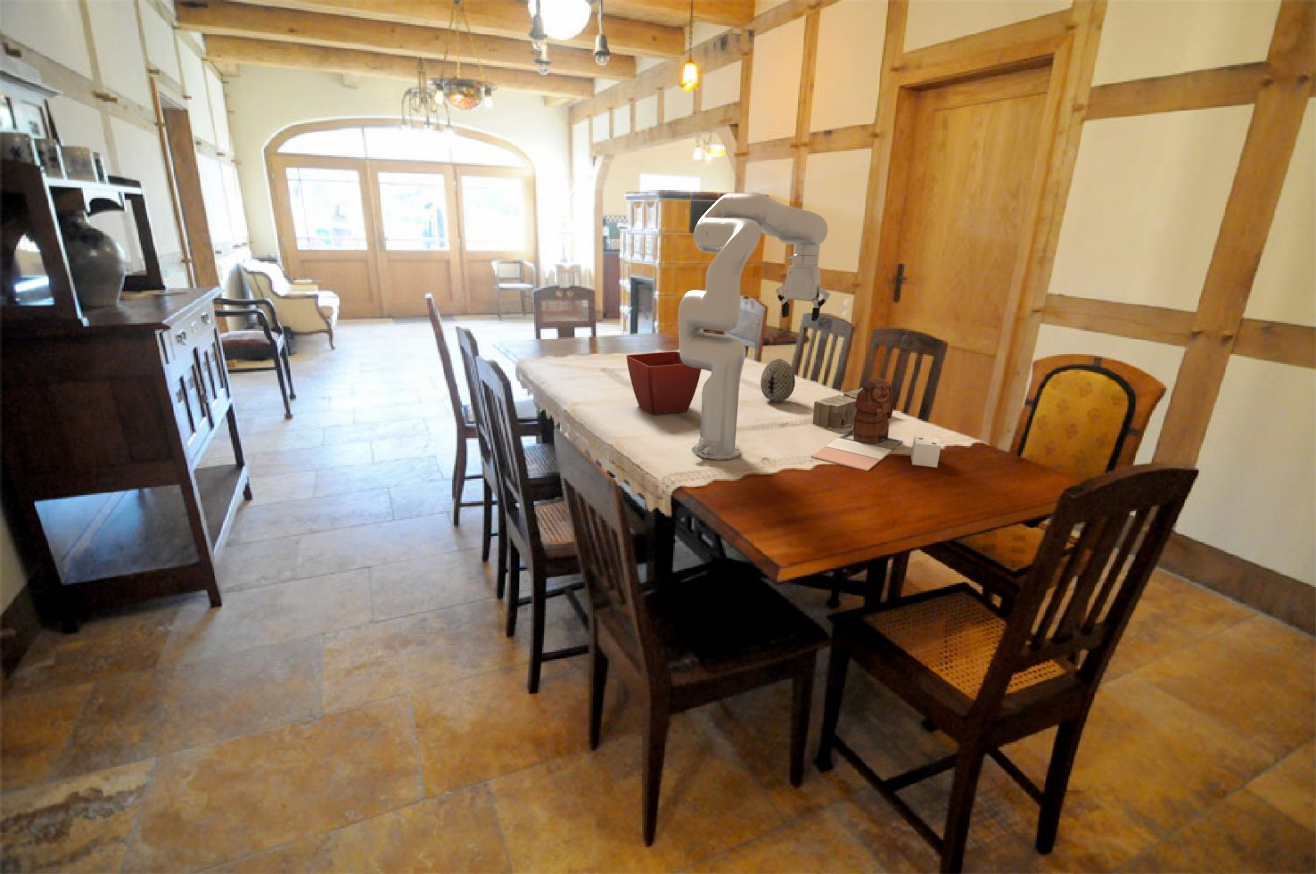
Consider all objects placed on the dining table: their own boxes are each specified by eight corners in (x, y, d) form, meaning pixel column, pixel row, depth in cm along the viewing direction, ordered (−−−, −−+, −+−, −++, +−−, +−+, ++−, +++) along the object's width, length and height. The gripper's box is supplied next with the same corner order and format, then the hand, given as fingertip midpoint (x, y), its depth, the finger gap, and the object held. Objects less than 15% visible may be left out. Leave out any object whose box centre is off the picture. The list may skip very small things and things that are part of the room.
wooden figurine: (866, 445, 178) (875, 383, 172) (848, 439, 183) (856, 378, 177) (893, 438, 184) (902, 378, 178) (875, 432, 189) (883, 374, 183)
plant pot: (624, 403, 214) (625, 354, 208) (675, 398, 221) (677, 350, 216) (647, 419, 197) (648, 366, 192) (701, 413, 205) (704, 362, 199)
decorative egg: (797, 400, 222) (802, 358, 217) (785, 408, 213) (789, 364, 208) (766, 395, 228) (770, 354, 223) (753, 402, 219) (757, 359, 214)
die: (936, 467, 165) (940, 445, 163) (912, 464, 166) (916, 443, 164) (934, 459, 170) (938, 438, 168) (910, 457, 172) (914, 436, 170)
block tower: (832, 433, 192) (883, 413, 210) (835, 407, 189) (887, 389, 207) (811, 426, 198) (862, 408, 216) (813, 401, 195) (865, 384, 213)
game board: (867, 471, 161) (867, 470, 160) (810, 457, 169) (811, 455, 169) (902, 442, 183) (902, 440, 183) (850, 430, 192) (851, 429, 191)
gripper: (773, 260, 191) (768, 317, 197) (828, 263, 182) (821, 323, 187) (784, 259, 197) (779, 314, 202) (837, 262, 187) (831, 320, 193)
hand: (799, 318), depth 195 cm, fingers open, 9 cm apart
